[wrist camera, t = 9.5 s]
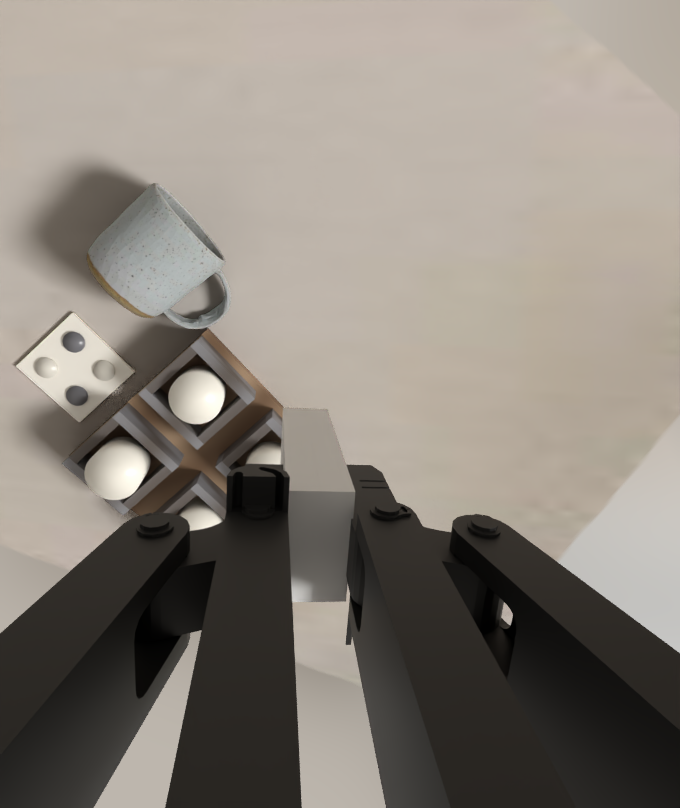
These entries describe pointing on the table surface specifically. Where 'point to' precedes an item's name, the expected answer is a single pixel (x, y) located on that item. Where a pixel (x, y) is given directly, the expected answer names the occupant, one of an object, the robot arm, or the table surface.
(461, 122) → the table surface
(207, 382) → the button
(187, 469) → the button board
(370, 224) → the table surface
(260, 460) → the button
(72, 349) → the card
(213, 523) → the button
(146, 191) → the ceramic mug
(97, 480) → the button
